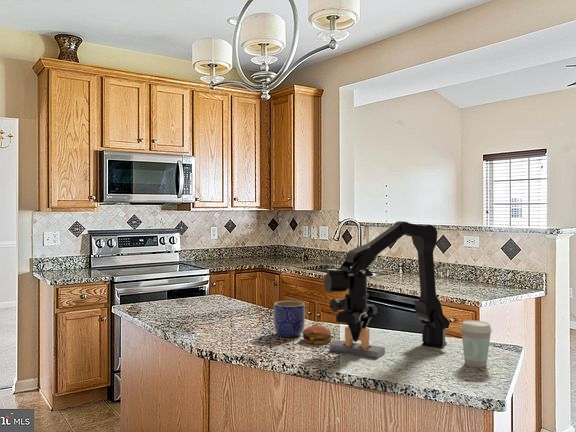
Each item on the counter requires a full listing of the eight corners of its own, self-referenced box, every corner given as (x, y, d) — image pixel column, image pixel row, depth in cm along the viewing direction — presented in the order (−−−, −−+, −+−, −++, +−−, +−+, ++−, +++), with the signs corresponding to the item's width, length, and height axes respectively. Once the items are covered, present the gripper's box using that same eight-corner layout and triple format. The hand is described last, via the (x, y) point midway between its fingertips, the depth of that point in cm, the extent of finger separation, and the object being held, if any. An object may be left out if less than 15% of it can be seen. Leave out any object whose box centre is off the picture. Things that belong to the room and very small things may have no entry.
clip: (369, 347, 159) (369, 328, 158) (366, 349, 156) (366, 330, 156) (348, 344, 162) (348, 325, 162) (344, 346, 160) (344, 327, 160)
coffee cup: (455, 360, 151) (455, 320, 151) (482, 359, 152) (483, 319, 152) (467, 369, 143) (468, 326, 143) (497, 368, 144) (497, 326, 143)
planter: (311, 334, 181) (311, 303, 181) (290, 340, 173) (290, 307, 173) (288, 329, 188) (288, 299, 188) (267, 335, 180) (267, 303, 180)
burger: (327, 337, 178) (327, 323, 178) (334, 344, 169) (334, 330, 169) (299, 338, 176) (299, 325, 176) (305, 346, 167) (305, 331, 167)
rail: (384, 353, 158) (384, 347, 158) (377, 358, 153) (377, 352, 153) (337, 346, 166) (337, 340, 166) (329, 350, 161) (329, 344, 161)
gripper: (346, 284, 171) (346, 331, 171) (320, 292, 155) (320, 343, 156) (378, 287, 165) (377, 335, 166) (354, 296, 149) (353, 349, 150)
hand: (357, 340), depth 159 cm, fingers closed on clip, 2 cm apart
